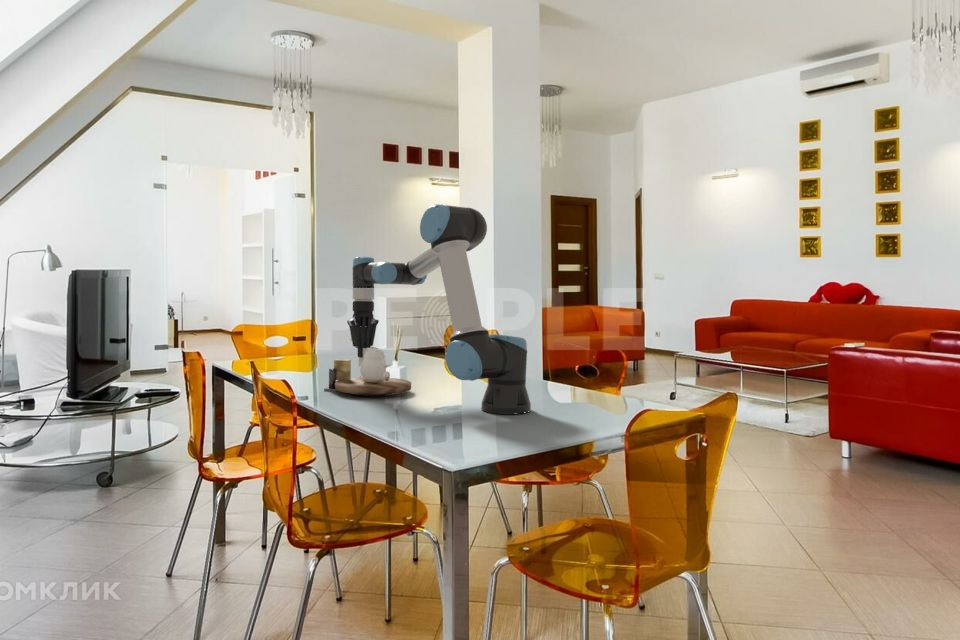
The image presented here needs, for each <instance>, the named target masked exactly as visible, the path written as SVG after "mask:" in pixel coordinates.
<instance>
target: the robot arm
mask: <svg viewBox="0 0 960 640" xmlns="http://www.w3.org/2000/svg"><path fill="white" fill-rule="evenodd" d="M487 232H488V224H487V221H486V218H485V217H484V215H483V214H482V213H481V212H480V211H479V210H477V209H475V208H471V207H465V206H457V205H456V206H455V205H448V204H446V203H445V204H444V203H443V204H436V203H435V204H432V205H430V206H429V207H427V208H426V209H425V211H424V212H423V215H422V217H421V219H420V225H419V233H420V237H421V238H422V240H423V241H424V242H425V243H427V244H430V246H429V247H427V248H426V249H424V250H423V251H422V252H421V253H419V254H418V255H416V256H415V257H413V258H412V259H410V260H409V261H407V262H389V261H375V259H374V257H371V256H355V257H354V258H353V262H352V299H353V302H352V311H353V314H352V318H351V319H348V320H347V321H346V322H347V325H348V326H349V327H348V328H349V330H350V336H351V342H352V347H354V348H356V349H357V358H358V367H361V363H362V361H363V359H364V354H365V352H366V351H367V348H369V349H371V347H372V346H373V345H374V341H375V336H376V331H377V325H378V324H379V319H376V318H375V317H374V314H373V312H374V310H375V302H374V301H373V300H374V299H375V285H407V286H408V285H411V286H416V285H423V284H424V283H425V282H426V281H425V280H426V279H427V276H428V274H430V273H432V272H433V271H435V270H436V269H438V268H440V272H441V275H442V277H441V278H442V281H443V286H444V292H445V296H446V301H447V305H448V311H449V316H450V320H451V327H452V331H453V332H452V334H451V336H450V337H449V341H450V342H449V344H448V345H447V346H446V349H445V351H446V352H445V354H444V360H445V365H446V367H447V369H448V371H449V372H450V373H451V375H453V377H455V378H456V379H458V380H460V381H469V382H470V381H471V382H472V381H476V380H484V379H487V386H486V389H485V392H484V395H483V398H482V400H481V409H480V410H482V411H483V412H486V413H489V414H496V415H497V414H498V415H515V414H514V413H524V412H528V411H530V410H531V409H532V407H531V406H532V404H531V400H530V395H529V393H528V390H527V384H526V383H527V382H526V381H527V361H528V359H527V358H528V348H527V347H528V346H527V345H528V344H527V340H526V338H524V337H521V336H512V335H504V334H496V333H495V334H494V333H490V334H489V332H490V331H489V330H488V329H487V328H486V327H484V326H483V325H482V321H481V316H480V315H481V314H480V311H479V306H478V302H477V295H476V290H475V287H474V281H473V277H472V273H471V267H470V263H469V257H468V253H467V252H470V251H472V250H473V249H475V248H476V247H478V246H479V245H480V244H481V243H483V241H484V239H485V238H486V235H487ZM530 412H531V411H530ZM528 413H529V412H528ZM524 414H525V413H524Z"/></svg>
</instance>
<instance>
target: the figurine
mask: <svg viewBox="0 0 960 640" xmlns="http://www.w3.org/2000/svg"><path fill="white" fill-rule="evenodd" d="M386 359H387V356H386V354H385V352H384V350H382V349H378V348H377V347H372V348H371V347H370V348H367V351H366V352H365V354H364V359H363V361H362V363H361V366H360V376H359V378H361V379H362V380H366V381H368V382H371V383H377V382H380V381H384V380H385V381H388V380H389V378H391V373H390V371H387V368H388V367H391V364H390V363H386ZM362 377H363V378H362Z"/></svg>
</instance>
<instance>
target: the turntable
mask: <svg viewBox="0 0 960 640" xmlns="http://www.w3.org/2000/svg"><path fill="white" fill-rule="evenodd" d="M351 360H352V359H342V358H341V359H340V358H338V359H333V368H334V369H336V382H335V389H336V390H337V391H336V392H341V393H346V394H354V395H356V394H369V395H379V394H390V395H394V394H403V393H407V392H408V391H411V390H412V381H410V380H408V379H403V378H396V377H395V378H394V377H390V378H389V380H388V381H385V380H384V381H380V382H377V383H371V382H368V381H366V380H362V379H361V378H360V377H351V376H352V375H351V372H352V371H351V370H352V367H351V366H352V364H351V363H352V361H351ZM361 377H362V376H361ZM362 378H363V377H362Z"/></svg>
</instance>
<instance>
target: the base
mask: <svg viewBox="0 0 960 640" xmlns="http://www.w3.org/2000/svg"><path fill="white" fill-rule="evenodd" d="M336 381H337V380H336V369H334V367H333V368H329V369H328V386H327V387H324V388H323V391H324V392H338V391H337V390H336V389H335V382H336ZM363 395H365V396H364V397H381V396H389V394H379V395H369V394H358V395H357V396H363Z"/></svg>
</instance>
